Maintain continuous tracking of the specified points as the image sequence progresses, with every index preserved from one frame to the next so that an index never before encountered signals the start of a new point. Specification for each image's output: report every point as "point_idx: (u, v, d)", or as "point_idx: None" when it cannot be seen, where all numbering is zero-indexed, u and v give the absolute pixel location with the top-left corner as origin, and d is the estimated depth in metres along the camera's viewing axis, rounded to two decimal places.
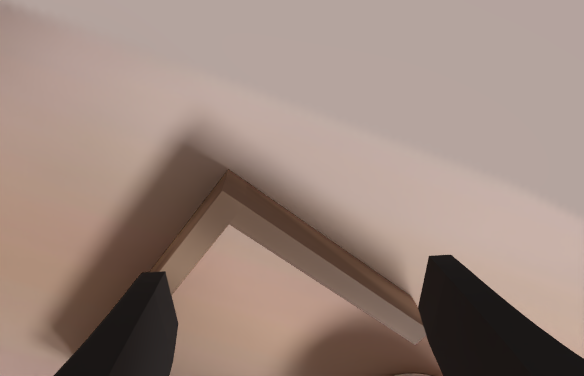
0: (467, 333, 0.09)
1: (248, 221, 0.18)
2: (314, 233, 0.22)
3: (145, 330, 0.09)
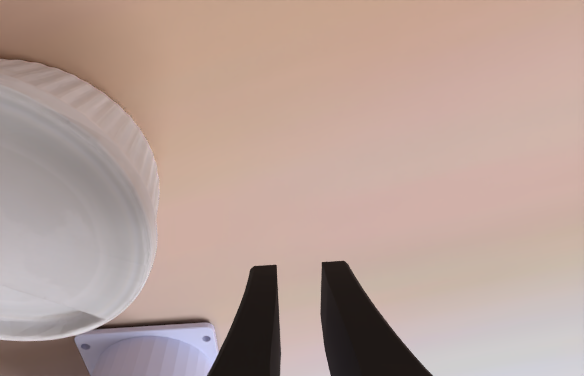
0: (339, 342, 0.09)
1: None
2: None
3: (275, 321, 0.09)
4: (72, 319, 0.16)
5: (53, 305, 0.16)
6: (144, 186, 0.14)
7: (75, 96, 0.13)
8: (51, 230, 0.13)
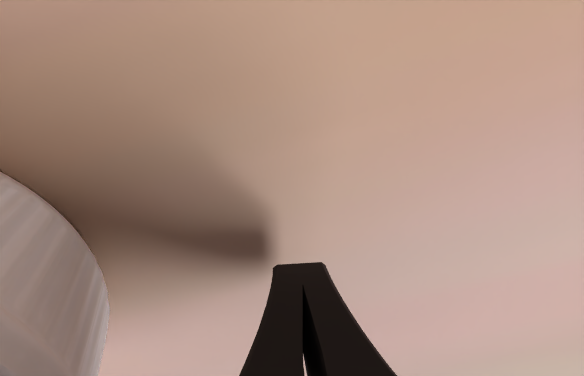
0: (312, 343, 0.09)
1: None
2: None
3: None
4: None
5: None
6: (54, 368, 0.08)
7: None
8: None
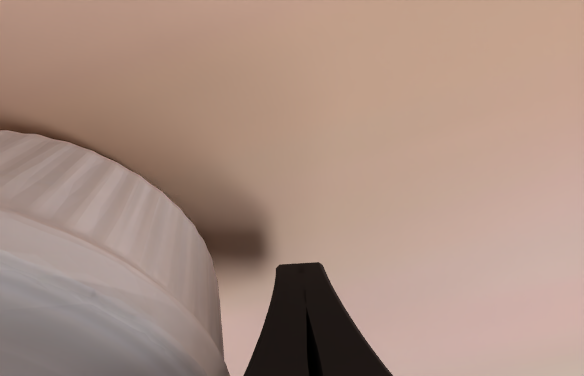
0: (309, 344, 0.09)
1: None
2: None
3: (306, 319, 0.09)
4: None
5: None
6: (222, 363, 0.08)
7: (99, 207, 0.07)
8: None
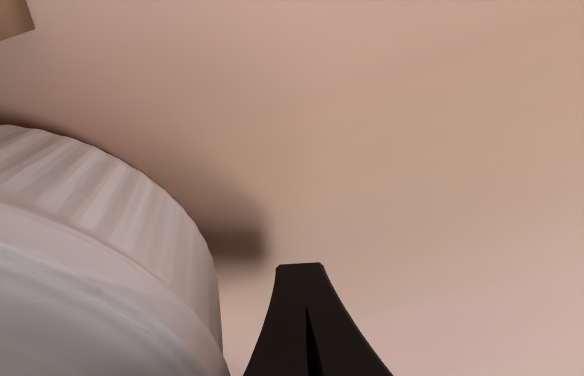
0: (309, 344, 0.09)
1: None
2: None
3: (305, 319, 0.09)
4: None
5: None
6: (223, 362, 0.08)
7: (103, 203, 0.07)
8: None
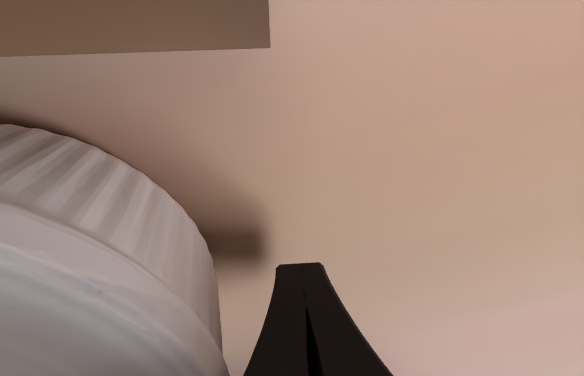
0: (309, 344, 0.09)
1: None
2: None
3: (305, 319, 0.09)
4: None
5: None
6: (223, 363, 0.08)
7: (104, 204, 0.07)
8: None
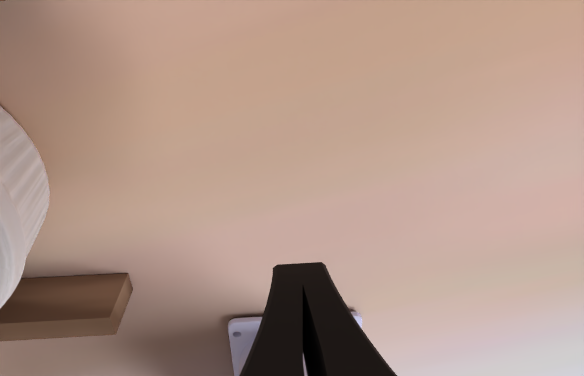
0: (312, 343, 0.09)
1: None
2: None
3: None
4: None
5: None
6: (1, 188, 0.13)
7: None
8: None
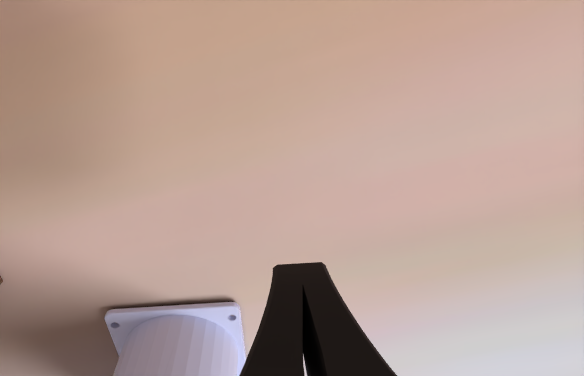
0: (312, 343, 0.09)
1: None
2: None
3: None
4: None
5: None
6: None
7: None
8: None
